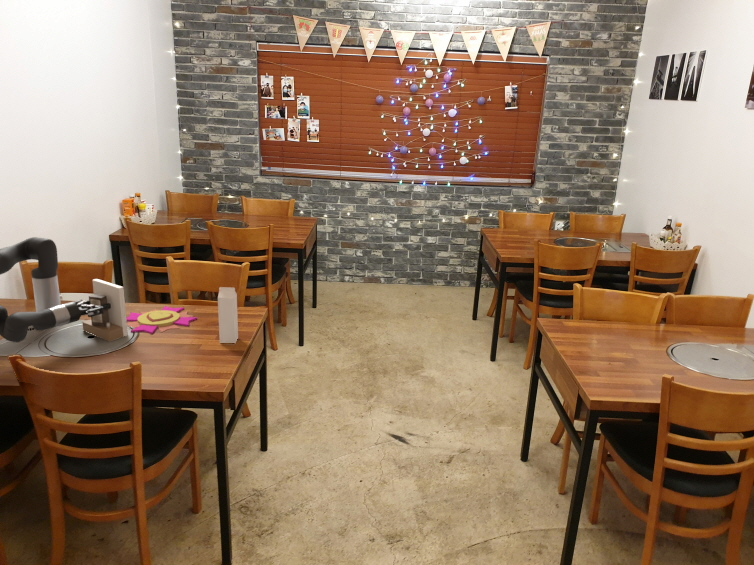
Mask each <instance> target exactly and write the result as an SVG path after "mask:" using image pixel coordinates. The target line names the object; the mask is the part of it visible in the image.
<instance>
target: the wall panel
mask: <svg viewBox="0 0 754 565" xmlns="http://www.w3.org/2000/svg"><path fill="white" fill-rule="evenodd" d="M91 282H92V290H93V294H98V295H106V296H107V303H110V304H111V308H110V309H108V316H109V322H108V323H106V324H107V326H106V327H99V326H92V321H91V318H90V319H87V320H84V321H82V322H81V323H82V330H84V331H87V332H89V333H92V334H94V335H96V336H98V337H97V338H99V337H101V338H100V339H102V338H103V339H102V340H104V339H105V340H104V341H107V342H109V341H110V342H112V340H113V341H116V340H119V339H121V337H122V338H124V336H125V337H128V336H129V333H128V332H129V331H128V330H127V329H128V325H127V323H128V321H127V319H126V317H127V309H126V301H125V300H126V299H125V289H124V288H125V287H124V286H121V285H118V284H115V283H111V282H108V281H105V280H102V279H98V278H94V279H92V281H91ZM84 331H83V332H84ZM89 333H88V334H89ZM94 335H93V336H94ZM127 335H128V336H127ZM96 336H95V337H96ZM118 338H119V339H118ZM115 339H116V340H115Z"/></svg>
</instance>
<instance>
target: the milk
mask: <svg viewBox="0 0 754 565" xmlns="http://www.w3.org/2000/svg"><path fill="white" fill-rule="evenodd" d="M237 294H238V293H237V292H236V288H235V287H226V286H225V287H223V286H220V287H219V288H218V296H217V311H218V314H217V315H218V331H219V334H218V335H219V344H220V343H235V344H236V343H237V341H238V340H239V324H238V318H239V317H238V295H237ZM237 339H238V340H237Z"/></svg>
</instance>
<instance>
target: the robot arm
mask: <svg viewBox="0 0 754 565" xmlns="http://www.w3.org/2000/svg"><path fill="white" fill-rule="evenodd" d="M29 260H30V261H31V260H34V261H35V260H36V261H37V264H38V267H35V268H33V269H32V270H31V272H30V273H31V274H30V275H31V280H32V281H31V282H32V287H33V288H32V289H33V297H34V299H33V300H34V304H35V311H17V312H13V313H11V314H9V312H8V309H7V308H5V307H4V306H3V305H1V304H0V336H1V337H2V338H3V339H5V341H9V342H11V343H21V342H22V341H24V340H25V339H26V338H27V336H28V335H27V334H28V331H29V327H32V328H33V329H34V330H35V331H39V332H40V331H46V330H49V329H52V328H56V327H61V326H65V325H68V324H72V323H76V322H78V321H80V319H81V317H82V316H87V317H88V318H91V317H92V316H96V315H100V314H103V313H104V312H103V311H104V310H107V309H110V308H111V304H110V303H106V304H103V305H98V306H95V305H90V303H89V299H88V300H86V299H84V300H83V299H79V300H74V301H69V302H66V303H62V302H61V295H60V294H61V293H60V288H59V279H58V270H59V269H58V268H59V260H58V249H57V245H56V242H55V241H54V240H52V239H50V238H45V237H38V236H33V237H29V238H26V239H24V240H21V241H20V242H18V243H15V244H13V245H10V246H6V247H2V248H0V276H1V275H3V274H6V273H8V272H9V271H10V270H12V268H14V266H15V265H16V264H18V263H20V262H25V261H29ZM91 307H92V308H93V309H91Z"/></svg>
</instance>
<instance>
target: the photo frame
mask: <svg viewBox="0 0 754 565" xmlns="http://www.w3.org/2000/svg"><path fill="white" fill-rule="evenodd" d="M88 300H89V303H90V305H95V306H98V305H103V304H106V303H107V296H106V295H98V294H94V293H93V294H90V295H88ZM91 309H93V308H92V307H91ZM103 312H104V313H103V314H100V315H96V316H92V317H90V319H91V321H92V326H99V327H106V326H107V324H106V323H108V322H109V316H108V309H107V310H104V311H103Z"/></svg>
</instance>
